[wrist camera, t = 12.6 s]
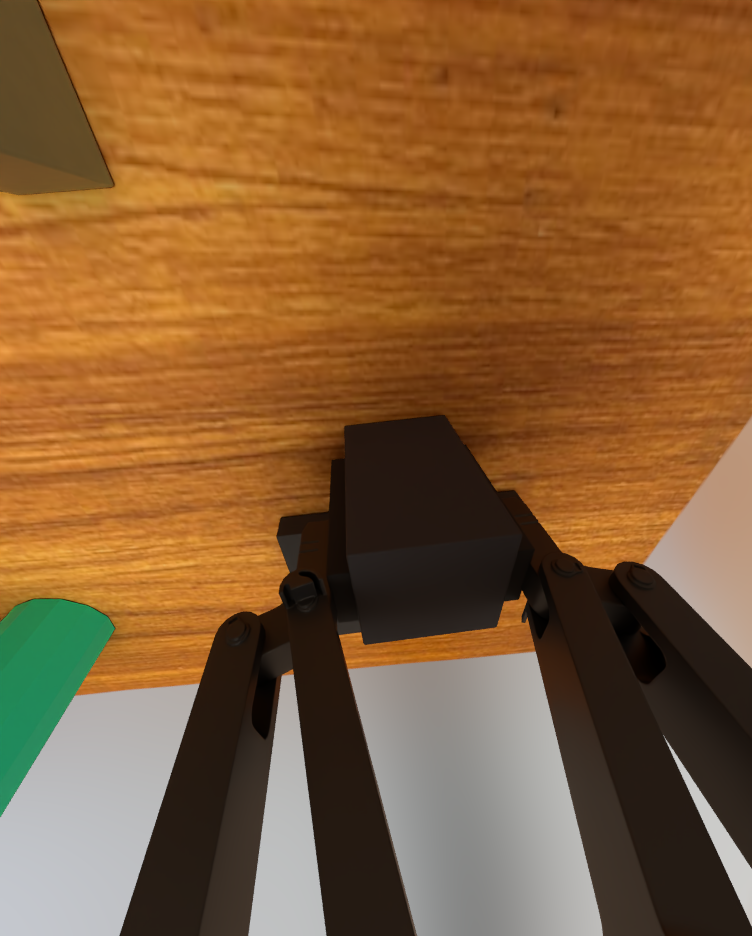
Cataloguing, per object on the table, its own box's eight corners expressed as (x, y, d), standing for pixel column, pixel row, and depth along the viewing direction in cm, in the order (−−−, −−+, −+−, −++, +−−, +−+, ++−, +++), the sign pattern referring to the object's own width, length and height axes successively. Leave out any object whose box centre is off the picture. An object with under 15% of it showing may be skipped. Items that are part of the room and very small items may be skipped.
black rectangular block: (445, 414, 15) (524, 534, 9) (438, 528, 20) (487, 664, 13) (344, 425, 15) (346, 556, 8) (360, 538, 20) (370, 680, 13)
